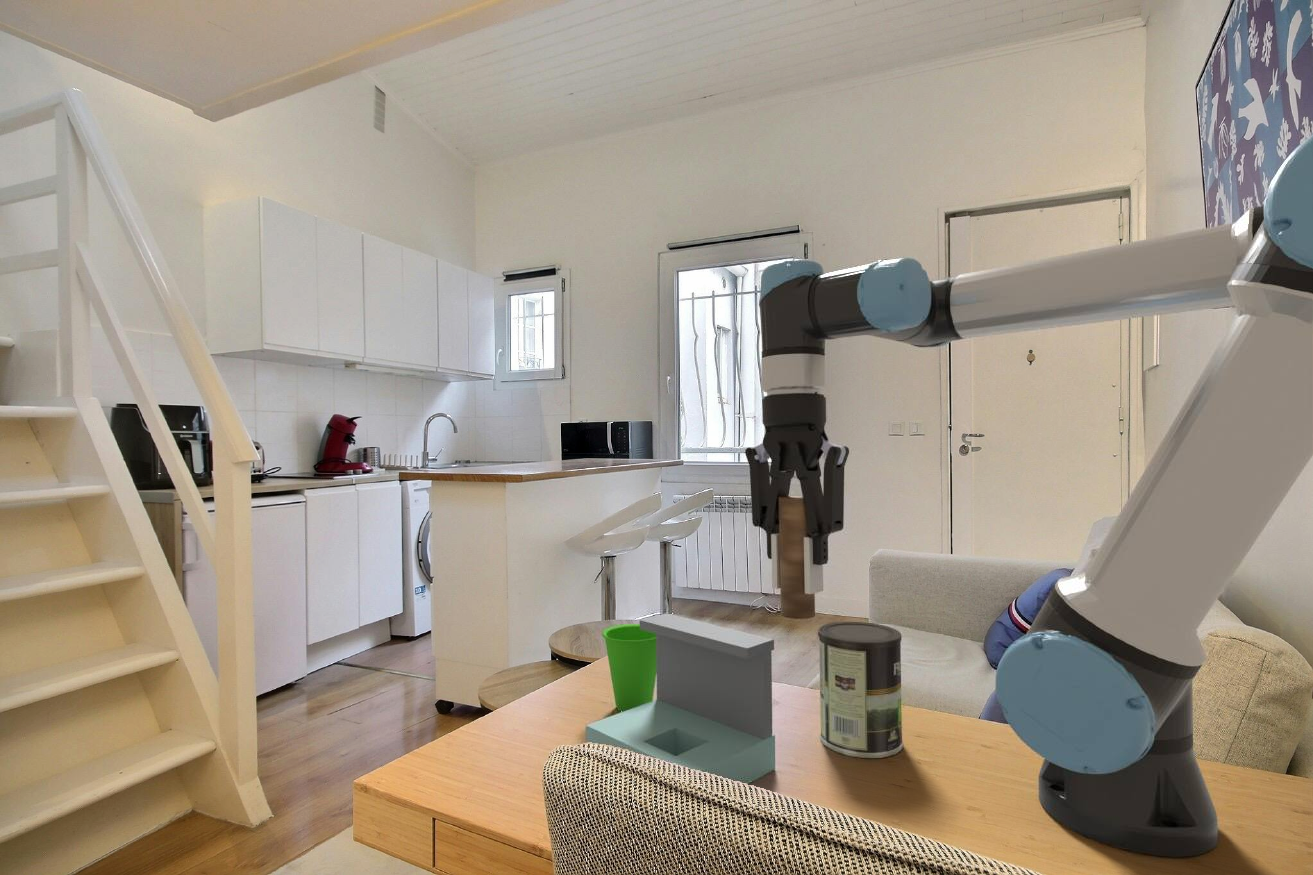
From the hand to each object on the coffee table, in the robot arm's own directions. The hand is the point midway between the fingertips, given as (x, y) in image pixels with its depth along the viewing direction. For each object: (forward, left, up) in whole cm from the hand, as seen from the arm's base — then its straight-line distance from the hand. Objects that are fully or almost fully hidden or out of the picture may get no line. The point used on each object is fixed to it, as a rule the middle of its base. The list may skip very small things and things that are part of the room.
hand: (797, 588), depth 83 cm
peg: (0, 0, -3) cm, 3 cm away
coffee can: (-2, -11, -21) cm, 24 cm away
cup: (+27, +2, -21) cm, 35 cm away
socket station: (+10, +10, -21) cm, 25 cm away
